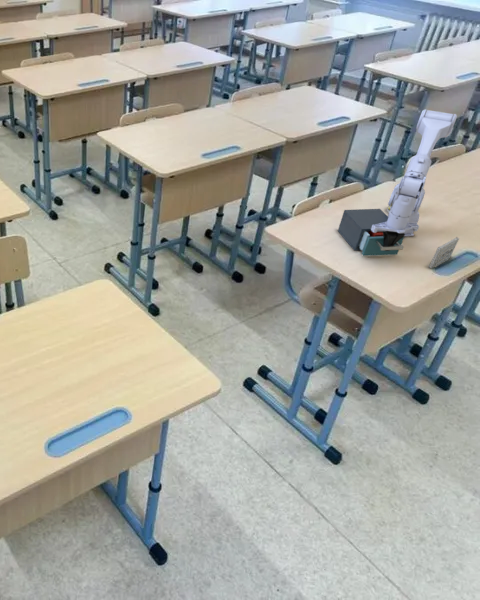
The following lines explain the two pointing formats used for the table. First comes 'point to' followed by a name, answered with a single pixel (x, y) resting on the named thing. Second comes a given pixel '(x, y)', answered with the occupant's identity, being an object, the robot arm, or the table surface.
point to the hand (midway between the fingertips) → (386, 249)
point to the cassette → (443, 253)
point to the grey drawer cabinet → (359, 224)
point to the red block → (375, 234)
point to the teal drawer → (377, 245)
